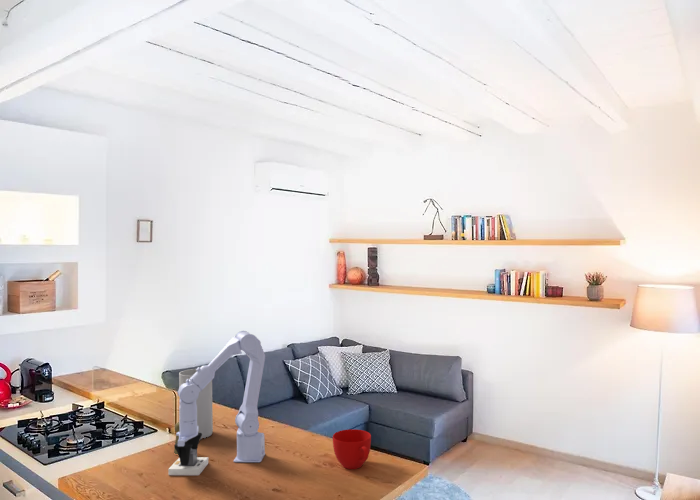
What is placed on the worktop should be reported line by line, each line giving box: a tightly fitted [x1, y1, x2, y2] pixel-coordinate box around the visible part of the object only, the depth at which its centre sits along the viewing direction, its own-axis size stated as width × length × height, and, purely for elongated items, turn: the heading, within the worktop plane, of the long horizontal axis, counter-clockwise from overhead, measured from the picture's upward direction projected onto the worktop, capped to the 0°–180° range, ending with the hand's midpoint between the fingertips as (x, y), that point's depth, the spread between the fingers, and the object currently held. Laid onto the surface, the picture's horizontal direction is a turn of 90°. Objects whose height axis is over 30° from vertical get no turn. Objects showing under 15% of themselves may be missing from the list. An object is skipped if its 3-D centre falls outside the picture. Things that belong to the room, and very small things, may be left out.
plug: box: [181, 448, 198, 466], centre depth 180 cm, size 4×4×7 cm
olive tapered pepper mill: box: [173, 421, 180, 454], centre depth 195 cm, size 6×6×11 cm
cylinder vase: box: [178, 368, 214, 440], centre depth 213 cm, size 12×12×25 cm
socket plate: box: [167, 456, 209, 476], centre depth 180 cm, size 10×10×2 cm
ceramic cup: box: [332, 428, 372, 470], centre depth 180 cm, size 13×17×10 cm
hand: (188, 460), depth 180 cm, fingers open, 7 cm apart
